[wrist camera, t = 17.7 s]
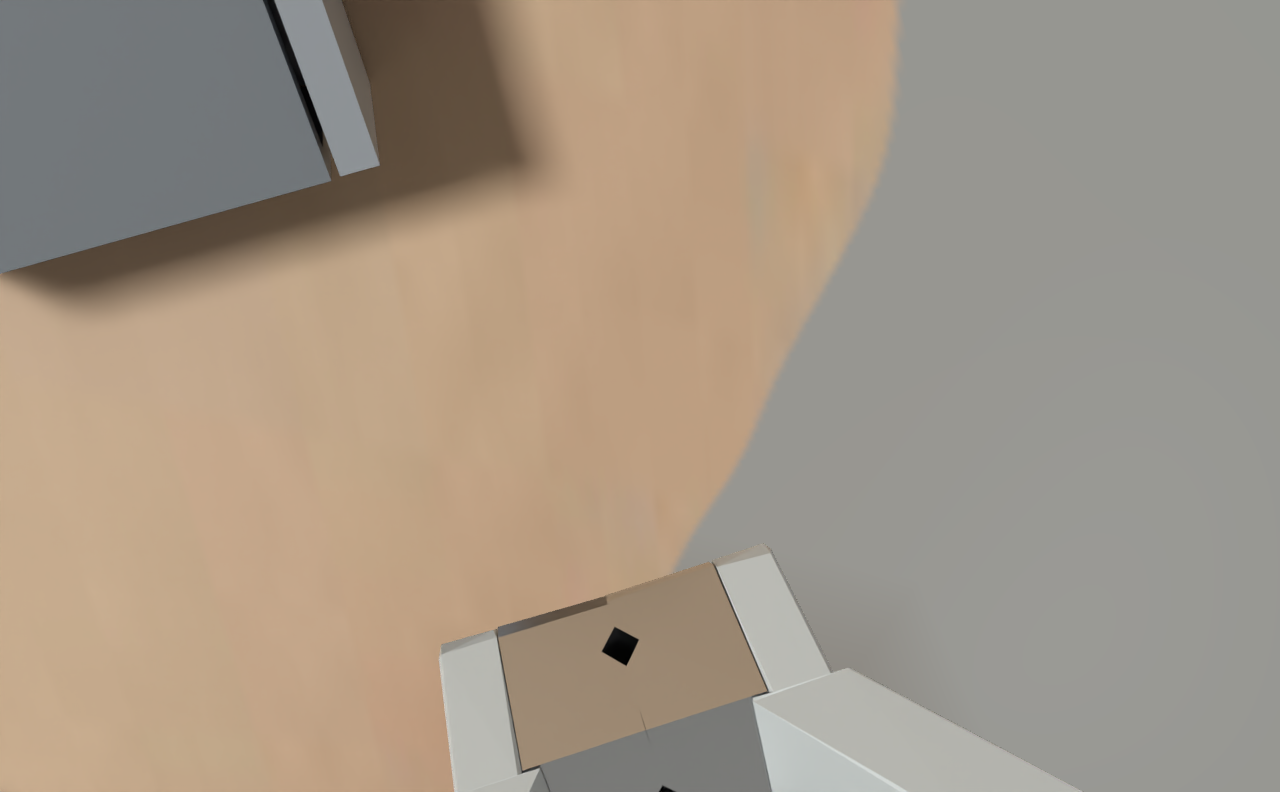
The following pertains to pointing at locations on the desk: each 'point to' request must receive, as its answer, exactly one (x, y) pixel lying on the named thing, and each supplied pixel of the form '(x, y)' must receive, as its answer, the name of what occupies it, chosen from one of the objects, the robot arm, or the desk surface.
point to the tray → (331, 77)
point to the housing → (143, 119)
